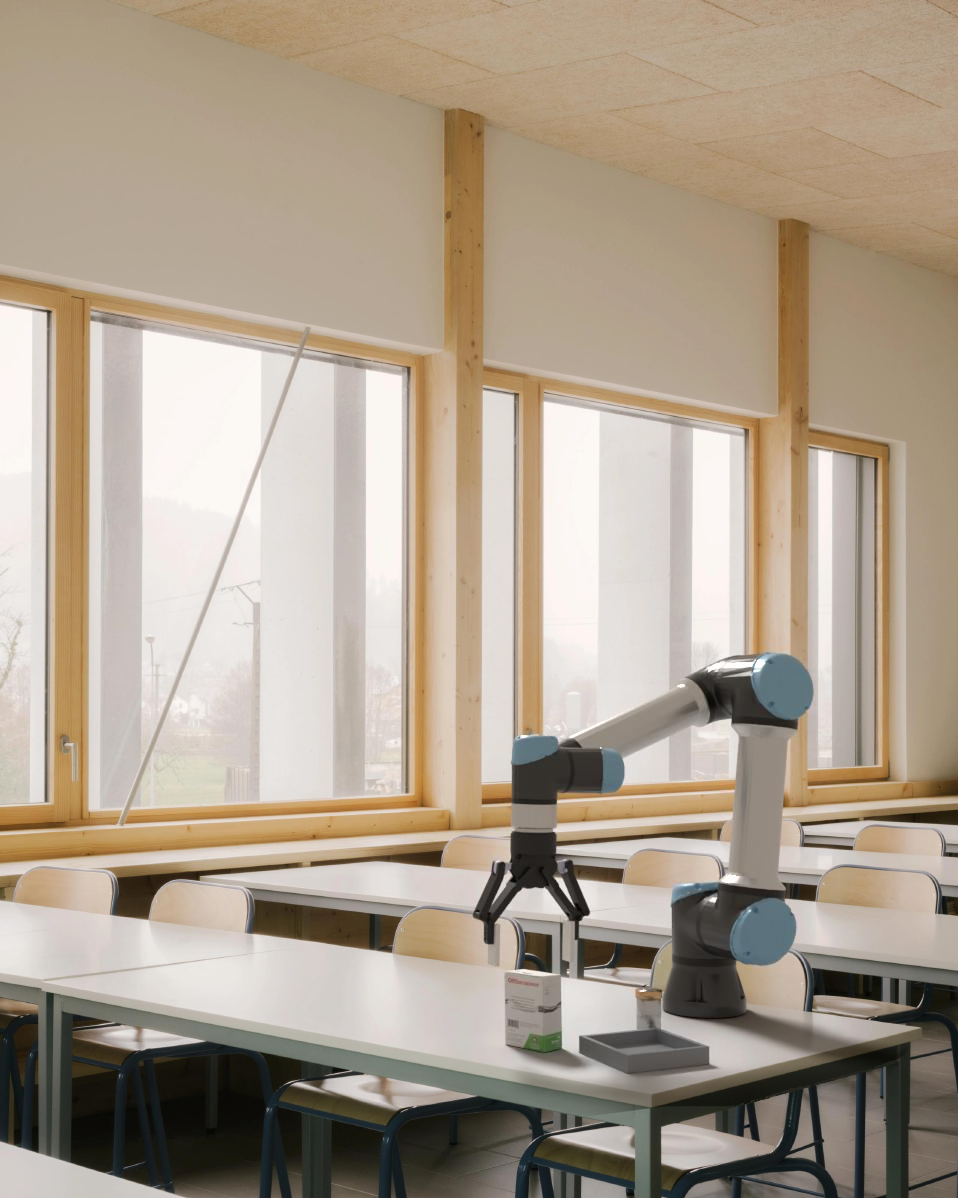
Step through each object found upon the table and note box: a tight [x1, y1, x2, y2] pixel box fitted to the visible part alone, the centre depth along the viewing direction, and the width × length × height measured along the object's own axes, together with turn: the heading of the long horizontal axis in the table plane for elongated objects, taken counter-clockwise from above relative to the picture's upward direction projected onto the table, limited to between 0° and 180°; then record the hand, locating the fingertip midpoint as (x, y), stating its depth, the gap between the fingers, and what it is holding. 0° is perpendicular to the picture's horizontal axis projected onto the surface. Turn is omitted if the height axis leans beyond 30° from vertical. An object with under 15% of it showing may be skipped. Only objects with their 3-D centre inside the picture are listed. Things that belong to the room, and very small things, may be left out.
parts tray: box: [578, 1028, 710, 1074], centre depth 219 cm, size 15×15×3 cm
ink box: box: [504, 968, 563, 1053], centre depth 227 cm, size 9×5×12 cm, turn 47°
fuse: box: [634, 986, 663, 1030], centre depth 233 cm, size 4×4×8 cm
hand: (531, 963), depth 228 cm, fingers open, 13 cm apart
